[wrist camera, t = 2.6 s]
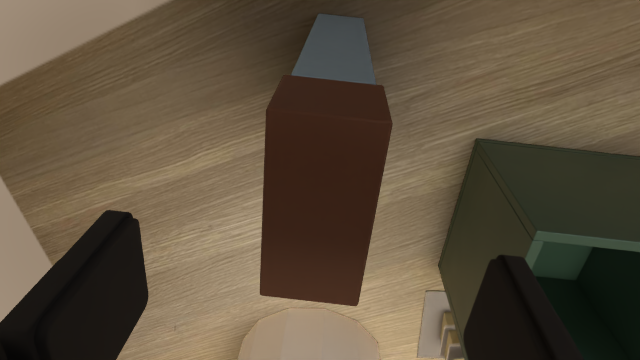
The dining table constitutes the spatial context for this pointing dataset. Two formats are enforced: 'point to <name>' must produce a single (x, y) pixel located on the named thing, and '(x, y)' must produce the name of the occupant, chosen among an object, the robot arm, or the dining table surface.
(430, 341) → the stacked layers on plate
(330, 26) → the grey-blue rectangular block
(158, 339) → the dining table surface
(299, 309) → the container
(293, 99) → the reddish brown block
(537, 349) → the robot arm
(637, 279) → the bin
